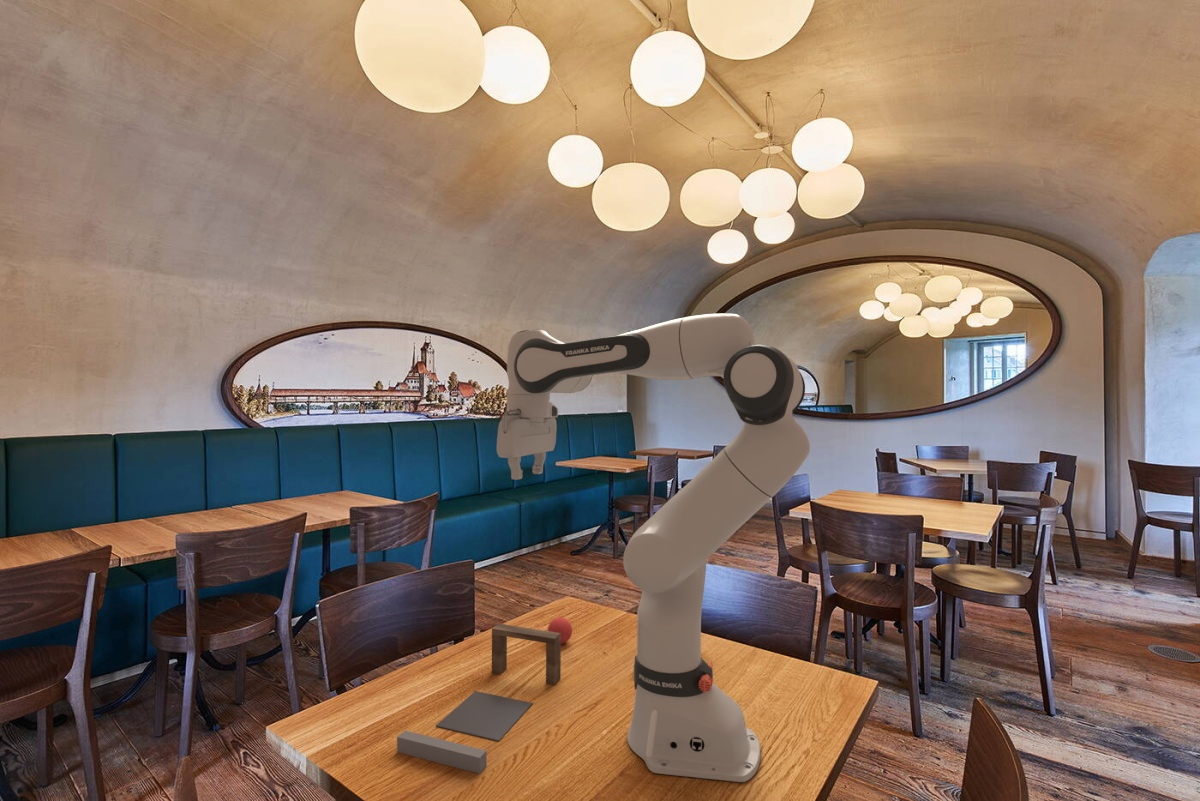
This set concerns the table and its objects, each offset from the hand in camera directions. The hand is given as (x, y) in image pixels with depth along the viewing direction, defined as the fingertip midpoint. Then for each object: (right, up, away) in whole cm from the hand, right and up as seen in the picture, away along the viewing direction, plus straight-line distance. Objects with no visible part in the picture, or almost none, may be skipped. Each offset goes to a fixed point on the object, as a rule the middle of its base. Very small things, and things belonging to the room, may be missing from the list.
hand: (527, 476), depth 115 cm
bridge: (-1, -44, +5) cm, 44 cm away
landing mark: (-6, -44, -10) cm, 45 cm away
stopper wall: (-11, -43, -23) cm, 50 cm away
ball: (+5, -41, +22) cm, 47 cm away
